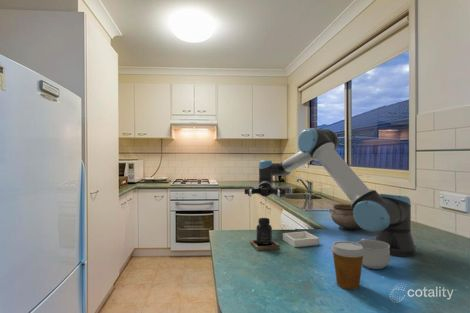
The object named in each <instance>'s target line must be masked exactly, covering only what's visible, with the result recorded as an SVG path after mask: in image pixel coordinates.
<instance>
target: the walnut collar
mask: <svg viewBox="0 0 470 313" xmlns="http://www.w3.org/2000/svg"><path fill="white" fill-rule="evenodd" d="M249 244H250V246H251V247H253V249H255V251H257V252H258V251H259V252H260V251H269V250H279V249H280V248H281V247H280V246H281V245H280V244H279V243H278V242H276V241H274V240H273V239H272V245H269V246H257V240H256V239H252V240H249Z"/></svg>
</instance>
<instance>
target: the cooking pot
mask: <svg viewBox="0 0 470 313" xmlns="http://www.w3.org/2000/svg"><path fill="white" fill-rule="evenodd" d="M327 211H328V213H330V217H331V219H332V221H333V222H334V224H336V225H338V226H339V227H340V228H342V229H344V230H347V229H350V230H349V231H354V230H355V229H356V230H358V229H360V228H361V227H360V226H359V225H358V224H357V223H356V221H355V219H354V217H353V215H354V213H353V209H352V208H351V203H345V202H343V203H333V204H332V208H329V209H328V210H327Z"/></svg>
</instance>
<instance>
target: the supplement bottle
mask: <svg viewBox="0 0 470 313" xmlns="http://www.w3.org/2000/svg"><path fill="white" fill-rule="evenodd" d="M255 229H256V232H255V233H256V234H255V235H256V239H255V240H257V244H256V245H257V246H269V245H272V240H273V228H272V225H271V224H270V218H269V217H259V218H258V224H257V225H256V227H255Z"/></svg>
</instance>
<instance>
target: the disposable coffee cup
mask: <svg viewBox="0 0 470 313" xmlns="http://www.w3.org/2000/svg"><path fill="white" fill-rule="evenodd" d="M330 249H331V252H332V256H333V264H334V271H335V277H336V278H335V279H336V284H337V286H339V287H340V288H342V289H345V290H351V291H352V290H357V289H359V288H360V282H361V275H362V265H363V264H362V260H363V255H364V253H365V251H364V249H363V246H362V245H360V244H358V243H356V242H355V241H354V242H353V241H345V240H339V241H333V243H332V245H331V247H330Z"/></svg>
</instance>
